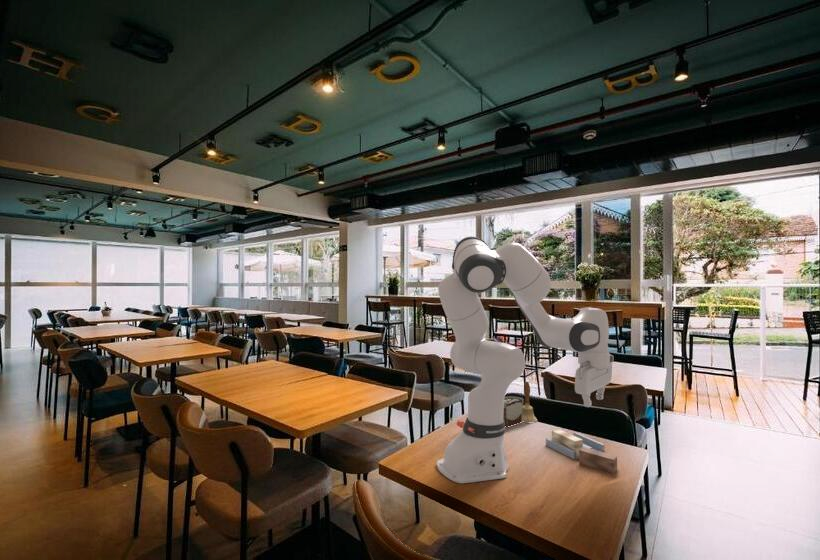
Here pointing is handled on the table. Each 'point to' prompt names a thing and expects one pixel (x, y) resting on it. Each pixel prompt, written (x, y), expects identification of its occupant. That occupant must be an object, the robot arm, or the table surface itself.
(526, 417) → the hand bell
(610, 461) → the walnut bar
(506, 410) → the food container
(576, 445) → the maple bar
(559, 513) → the table surface
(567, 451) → the slot rack
